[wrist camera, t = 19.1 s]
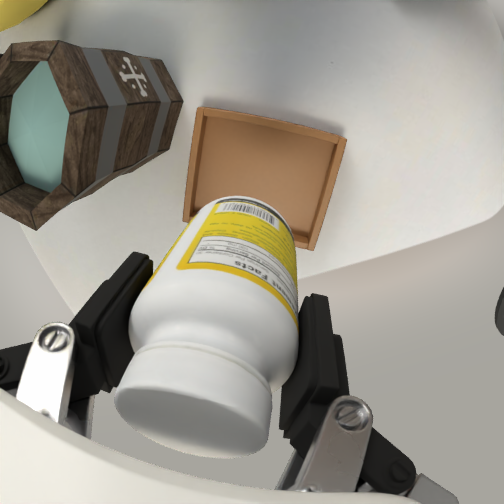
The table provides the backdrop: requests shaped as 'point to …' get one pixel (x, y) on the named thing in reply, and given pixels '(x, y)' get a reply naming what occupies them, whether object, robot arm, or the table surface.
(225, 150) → the oak tray
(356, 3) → the table surface
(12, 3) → the vase
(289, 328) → the supplement bottle
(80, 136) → the mug
